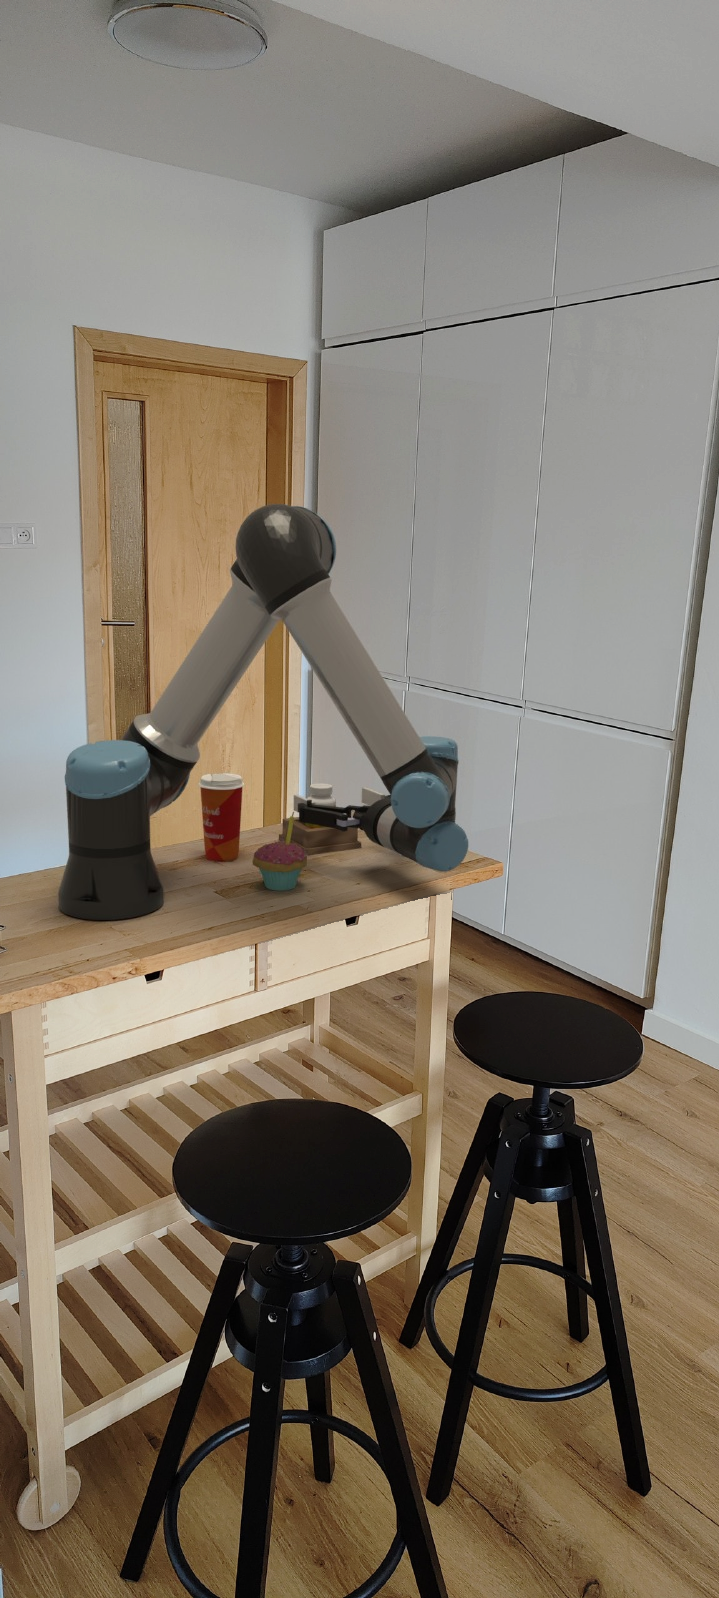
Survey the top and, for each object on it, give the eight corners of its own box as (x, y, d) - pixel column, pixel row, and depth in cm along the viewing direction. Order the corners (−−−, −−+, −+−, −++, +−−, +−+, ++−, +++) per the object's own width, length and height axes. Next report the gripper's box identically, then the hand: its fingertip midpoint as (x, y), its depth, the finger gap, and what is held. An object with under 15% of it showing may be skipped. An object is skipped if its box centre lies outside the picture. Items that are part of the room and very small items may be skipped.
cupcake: (298, 876, 174) (299, 804, 172) (314, 892, 167) (315, 817, 164) (246, 881, 171) (246, 807, 169) (260, 897, 164) (260, 820, 161)
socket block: (305, 855, 186) (306, 832, 185) (278, 839, 196) (278, 818, 195) (361, 847, 192) (361, 826, 191) (332, 833, 201) (332, 812, 200)
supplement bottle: (300, 836, 194) (300, 783, 192) (327, 833, 197) (328, 781, 195) (313, 843, 190) (313, 789, 188) (340, 840, 192) (341, 787, 190)
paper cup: (193, 853, 186) (192, 773, 183) (236, 849, 189) (235, 771, 186) (207, 865, 179) (206, 783, 176) (251, 861, 182) (251, 780, 179)
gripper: (325, 858, 165) (265, 827, 183) (458, 839, 178) (389, 811, 196) (326, 811, 164) (265, 784, 181) (460, 795, 176) (391, 771, 194)
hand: (330, 798), depth 189 cm, fingers open, 13 cm apart
